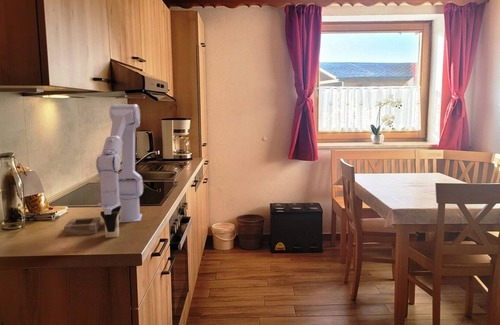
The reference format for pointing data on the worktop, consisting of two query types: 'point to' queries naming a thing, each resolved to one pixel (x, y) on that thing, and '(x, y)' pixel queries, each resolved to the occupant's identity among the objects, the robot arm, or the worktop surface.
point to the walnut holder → (82, 226)
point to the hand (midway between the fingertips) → (112, 229)
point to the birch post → (116, 232)
